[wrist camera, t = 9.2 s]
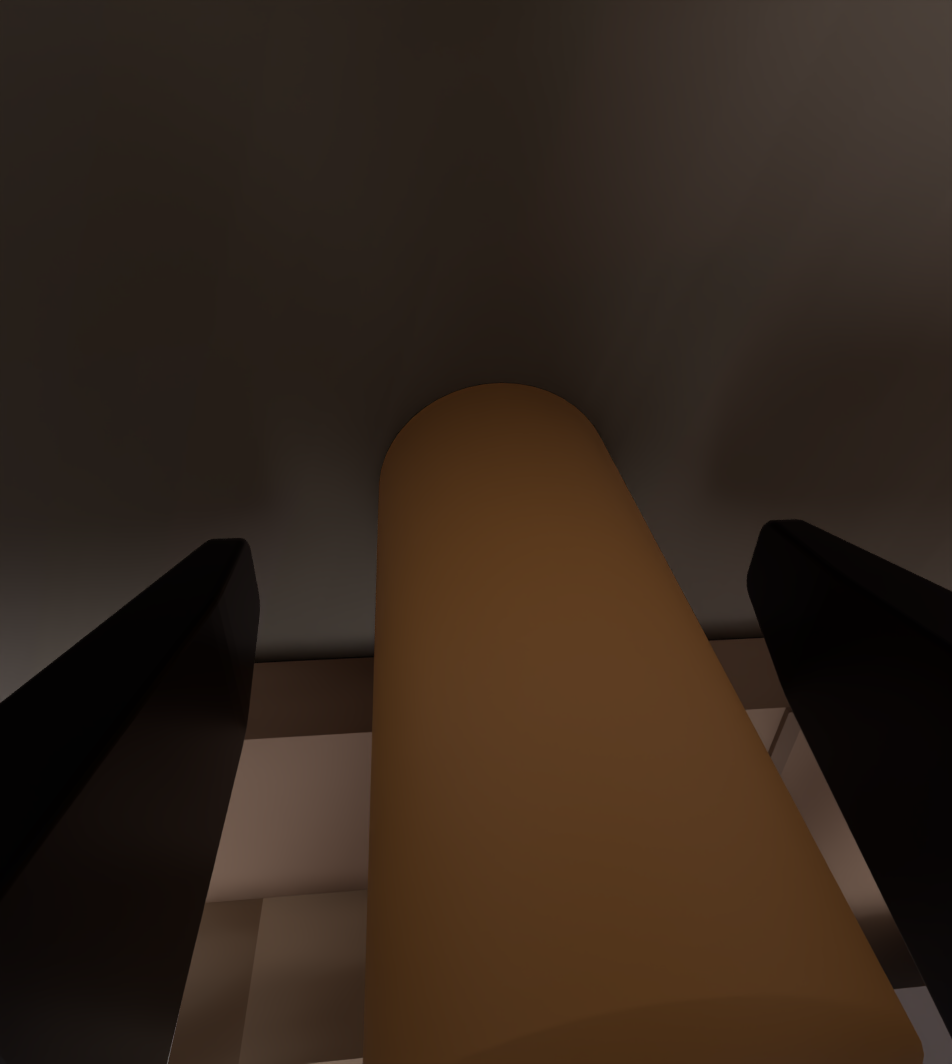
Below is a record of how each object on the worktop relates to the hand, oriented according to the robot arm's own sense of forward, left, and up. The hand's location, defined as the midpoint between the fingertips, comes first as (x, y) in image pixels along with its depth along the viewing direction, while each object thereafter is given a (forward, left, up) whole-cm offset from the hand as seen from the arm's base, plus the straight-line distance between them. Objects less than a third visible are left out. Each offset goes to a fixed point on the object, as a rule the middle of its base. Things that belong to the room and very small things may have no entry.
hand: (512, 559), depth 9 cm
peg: (0, 0, -2) cm, 2 cm away
